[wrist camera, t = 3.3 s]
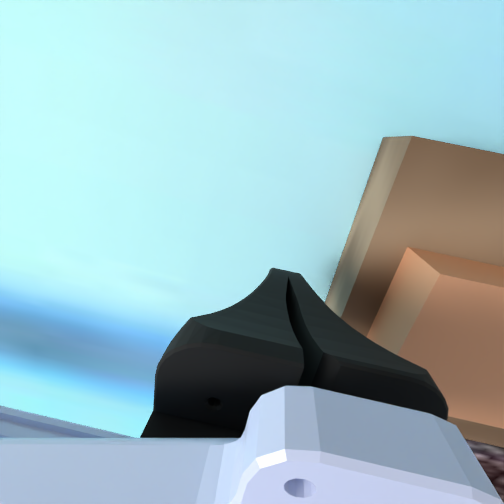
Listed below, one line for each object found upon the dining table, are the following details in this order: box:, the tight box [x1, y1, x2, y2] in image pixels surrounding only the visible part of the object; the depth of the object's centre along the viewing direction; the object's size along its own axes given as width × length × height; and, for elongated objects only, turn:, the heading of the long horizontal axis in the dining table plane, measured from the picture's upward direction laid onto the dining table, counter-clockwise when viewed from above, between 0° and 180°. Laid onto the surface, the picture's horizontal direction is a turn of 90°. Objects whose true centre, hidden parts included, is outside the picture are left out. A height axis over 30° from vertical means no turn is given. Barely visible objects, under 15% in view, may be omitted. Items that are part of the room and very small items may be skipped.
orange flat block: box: [367, 247, 504, 429], centre depth 11 cm, size 6×9×2 cm, turn 79°
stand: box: [325, 136, 504, 447], centre depth 13 cm, size 14×12×3 cm
